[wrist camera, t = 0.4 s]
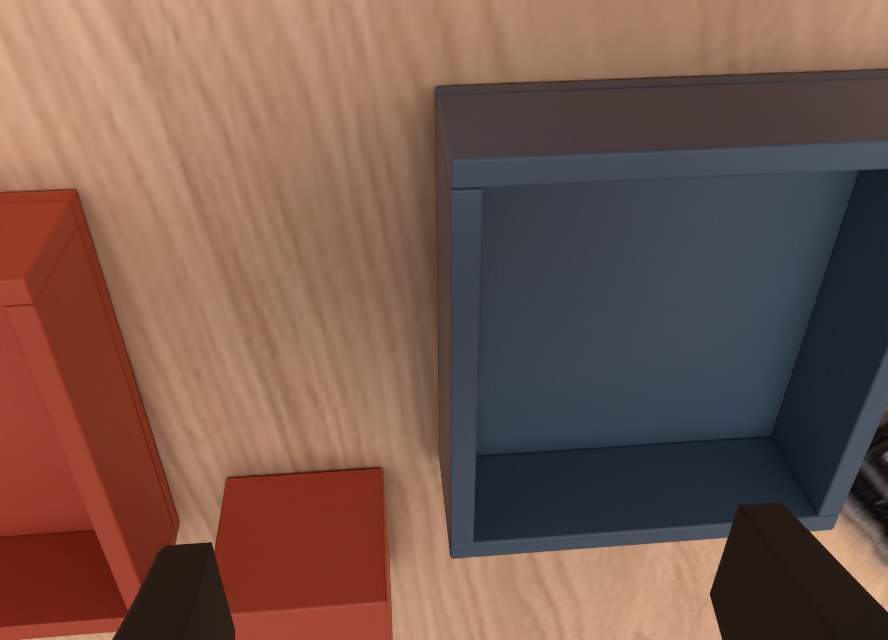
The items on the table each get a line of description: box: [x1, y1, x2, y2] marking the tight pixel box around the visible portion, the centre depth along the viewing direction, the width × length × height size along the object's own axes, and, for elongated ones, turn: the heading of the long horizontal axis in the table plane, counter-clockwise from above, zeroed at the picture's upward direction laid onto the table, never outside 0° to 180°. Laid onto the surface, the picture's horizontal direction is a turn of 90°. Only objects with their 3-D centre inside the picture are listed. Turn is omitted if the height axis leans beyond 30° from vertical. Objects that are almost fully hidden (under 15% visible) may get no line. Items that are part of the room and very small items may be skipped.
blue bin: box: [435, 70, 888, 558], centre depth 19 cm, size 11×10×4 cm
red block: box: [214, 468, 393, 640], centre depth 23 cm, size 4×4×4 cm
